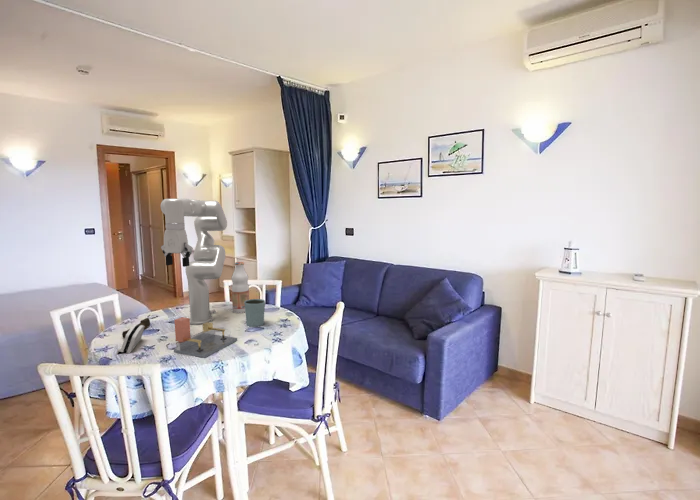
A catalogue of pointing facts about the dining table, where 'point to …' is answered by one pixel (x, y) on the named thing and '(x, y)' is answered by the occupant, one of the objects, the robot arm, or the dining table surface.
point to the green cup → (254, 312)
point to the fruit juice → (239, 288)
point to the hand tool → (143, 322)
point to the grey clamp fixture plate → (205, 342)
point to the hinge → (131, 338)
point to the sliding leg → (184, 331)
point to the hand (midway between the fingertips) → (177, 265)
